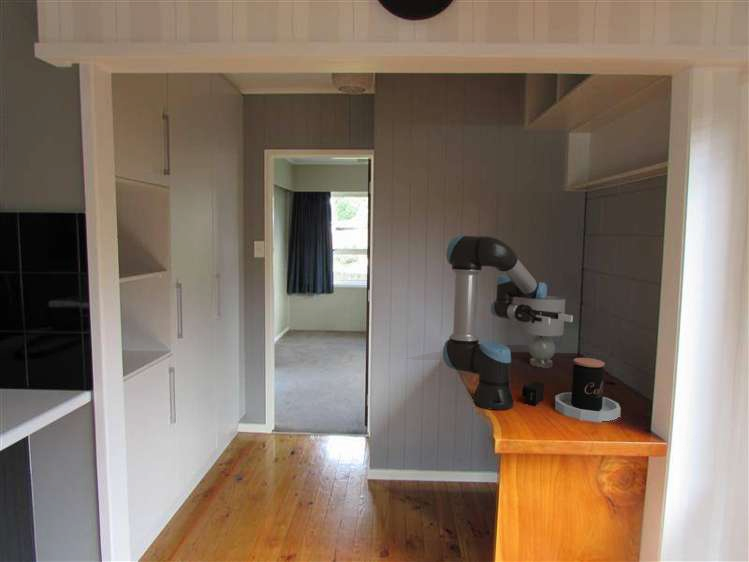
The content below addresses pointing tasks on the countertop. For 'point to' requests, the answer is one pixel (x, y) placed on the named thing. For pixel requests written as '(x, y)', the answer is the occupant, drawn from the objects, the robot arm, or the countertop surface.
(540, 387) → the digital camera
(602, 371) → the coffee jar
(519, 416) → the countertop surface
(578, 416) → the bowl
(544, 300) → the lamp
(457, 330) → the robot arm
